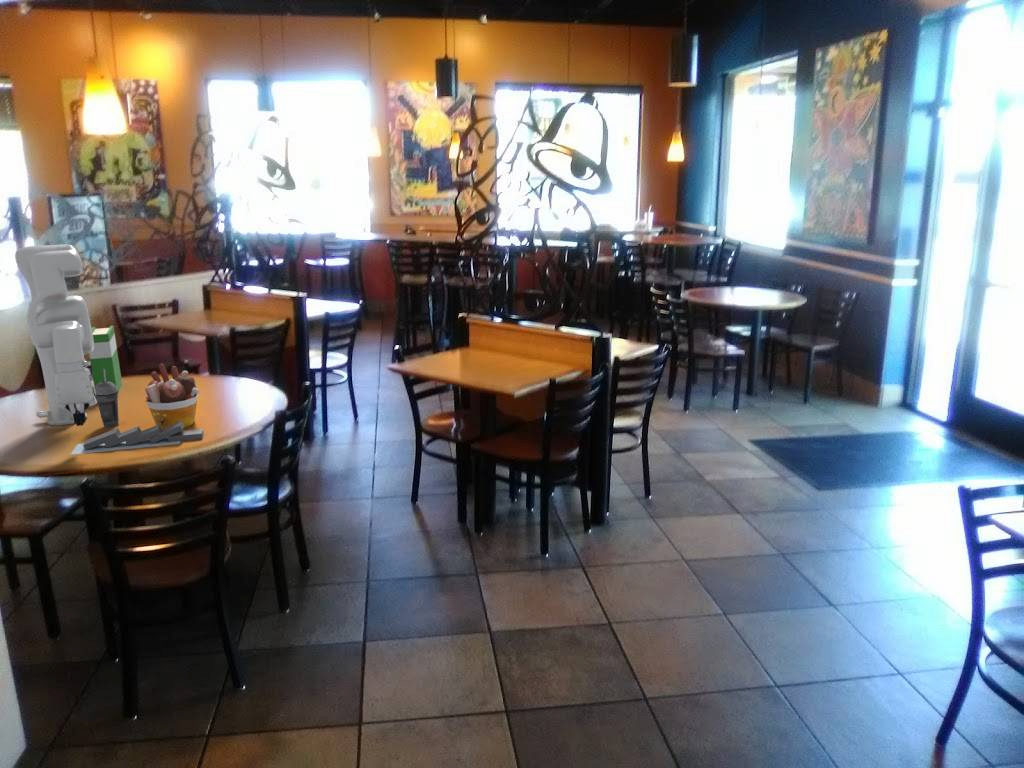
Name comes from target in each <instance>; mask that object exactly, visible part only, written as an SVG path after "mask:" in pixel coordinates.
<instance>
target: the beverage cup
mask: <svg viewBox="0 0 1024 768" xmlns="http://www.w3.org/2000/svg"><path fill="white" fill-rule="evenodd" d="M103 370H104V380H105V381H102V382H100V383H99V384H98V385H97V386H96V388H95V392H96V397H95V399H96V401H97V403H96V404H97V407H98V409H99V413H100V414H99V415H100V417H101V422H102V425H103V428H104V429H110V428H111V429H112V428H116V427H117V428H118V426H119V423H120V422H119V405H118V404H119V403H118V399H119V398H118V397H119V393H118V390H117V387H116V386H115V385H114V384H113V383H112V382H110V381H106V374H105V369H103Z"/></svg>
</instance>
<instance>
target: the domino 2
mask: <svg viewBox="0 0 1024 768" xmlns="http://www.w3.org/2000/svg"><path fill="white" fill-rule="evenodd" d="M141 431H142V429H141V428H140V426H139V425H138V426H136V427H132V428H130V429H127V430H125V431H122V432H120V435H119V437H118V438H117V439H114V440H111V441H109V442H106V443H104V444H105V445H106V447H107V448H109V447H112V446H114V445H117V444H120V443H122V442H125V441H127V440H130V439H132V438H135V437H137V436H139V435H140V433H141Z"/></svg>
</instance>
